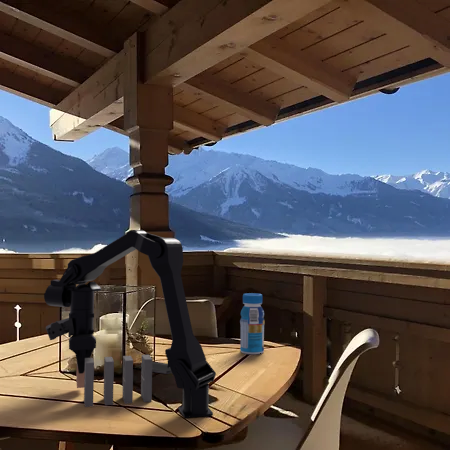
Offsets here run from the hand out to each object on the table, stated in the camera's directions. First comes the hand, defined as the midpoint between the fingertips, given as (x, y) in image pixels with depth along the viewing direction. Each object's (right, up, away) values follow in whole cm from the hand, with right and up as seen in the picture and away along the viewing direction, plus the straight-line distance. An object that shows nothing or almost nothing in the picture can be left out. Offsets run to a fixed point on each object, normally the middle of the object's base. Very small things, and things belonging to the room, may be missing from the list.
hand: (80, 370), depth 130 cm
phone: (+15, -7, +24) cm, 30 cm away
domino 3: (+9, -5, -8) cm, 13 cm away
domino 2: (+4, -5, -9) cm, 11 cm away
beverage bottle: (+46, -7, +48) cm, 66 cm away
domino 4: (+13, -5, -7) cm, 15 cm away
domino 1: (0, -4, 0) cm, 4 cm away
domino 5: (+17, -5, -5) cm, 19 cm away
